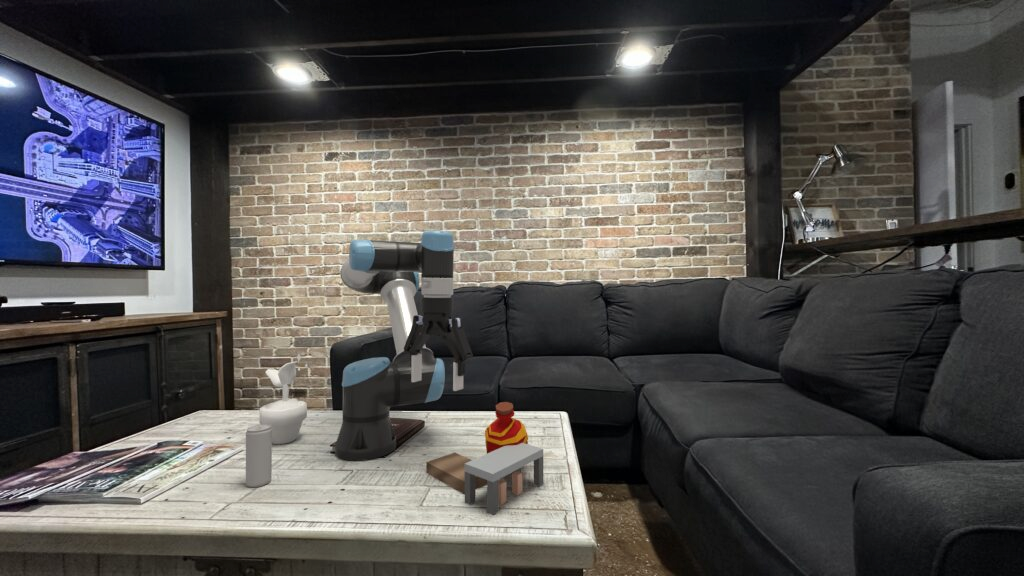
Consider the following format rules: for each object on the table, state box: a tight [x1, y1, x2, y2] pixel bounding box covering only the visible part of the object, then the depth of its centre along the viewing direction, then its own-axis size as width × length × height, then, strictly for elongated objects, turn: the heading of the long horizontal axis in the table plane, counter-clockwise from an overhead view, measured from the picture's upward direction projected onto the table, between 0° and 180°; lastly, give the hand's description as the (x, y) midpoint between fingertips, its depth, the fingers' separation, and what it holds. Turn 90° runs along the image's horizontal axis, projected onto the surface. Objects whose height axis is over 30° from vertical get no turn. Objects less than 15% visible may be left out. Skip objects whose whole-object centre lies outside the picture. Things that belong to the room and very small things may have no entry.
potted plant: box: [258, 353, 309, 445], centre depth 116 cm, size 13×12×25 cm
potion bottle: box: [484, 401, 529, 454], centre depth 95 cm, size 10×10×15 cm
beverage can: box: [245, 423, 273, 488], centre depth 90 cm, size 5×5×12 cm
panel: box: [425, 452, 487, 495], centre depth 92 cm, size 14×8×3 cm, turn 44°
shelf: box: [464, 443, 545, 516], centre depth 85 cm, size 8×16×8 cm, turn 140°
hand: (436, 385), depth 99 cm, fingers open, 13 cm apart
